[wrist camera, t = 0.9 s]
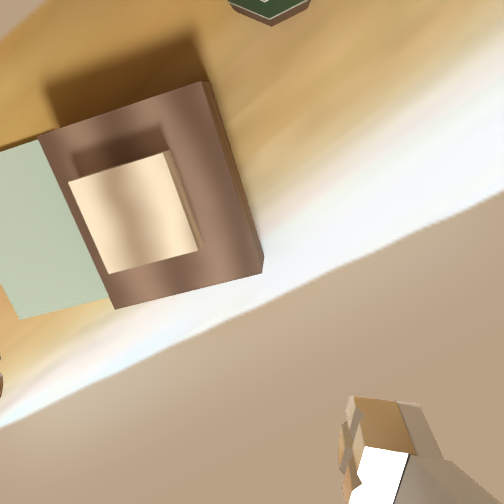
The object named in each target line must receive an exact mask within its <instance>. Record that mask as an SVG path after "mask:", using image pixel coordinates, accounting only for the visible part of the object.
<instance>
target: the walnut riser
mask: <svg viewBox="0 0 504 504" xmlns="http://www.w3.org/2000/svg"><path fill="white" fill-rule="evenodd" d="M37 138H38V140H39V143H40V145H41V147H42V149H43V152H44V154H45V156H46V158H47V160H48V163H49V165H50V167H51V169H52V171H53V174H54V176H55V178H56V180H57V183H58V185H59V187H60V189H61V191H62V194H63V196H64V198H65V200H66V202H67V205H68V207H69V209H70V211H71V214H72V216H73V218H74V220H75V222H76V225H77V227H78V229H79V231H80V233H81V236H82V238H83V240H84V242H85V244H86V247H87V249H88V251H89V253H90V256H91V258H92V260H93V262H94V264H95V267H96V269H97V271H98V273H99V275H100V278H101V280H102V282H103V284H104V287H105V289H106V291H107V293H108V295H109V298H110V300H111V302H112V304H113V306H114V309H119V308H123V307H127V306H131V305H135V304H139V303H144V302H148V301H152V300H156V299H160V298H164V297H168V296H172V295H176V294H180V293H184V292H188V291H192V290H196V289H200V288H204V287H208V286H212V285H216V284H220V283H224V282H228V281H233V280H237V279H241V278H245V277H249V276H253V275H257V274H261V273H262V269H263V262H264V254H263V251H262V248H261V244H260V241H259V238H258V235H257V232H256V228H255V225H254V222H253V219H252V215H251V212H250V209H249V206H248V203H247V199H246V196H245V193H244V190H243V187H242V183H241V180H240V177H239V174H238V170H237V167H236V164H235V161H234V158H233V154H232V151H231V148H230V145H229V142H228V138H227V135H226V132H225V129H224V125H223V122H222V119H221V116H220V113H219V109H218V106H217V103H216V100H215V97H214V93H213V90H212V87H211V84H210V82H206V81H199V82H196V83H193V84H190V85H187V86H184V87H181V88H178V89H175V90H172V91H169V92H166V93H163V94H160V95H157V96H154V97H151V98H148V99H145V100H142V101H139V102H136V103H133V104H131V105H128V106H125V107H122V108H119V109H116V110H113V111H110V112H107V113H104V114H101V115H98V116H95V117H92V118H89V119H86V120H83V121H80V122H77V123H74V124H71V125H68V126H65V127H62V128H59V129H56V130H53V131H50V132H47V133H44V134H42V135H39V136H37ZM169 149H170V151H171V154H172V157H173V160H174V162H175V165H176V168H177V171H178V174H179V177H180V179H181V182H182V185H183V188H184V191H185V193H186V196H187V199H188V202H189V205H190V207H191V210H192V213H193V216H194V219H195V221H196V224H197V227H198V230H199V233H200V235H201V238H202V241H203V243H202V245H201V247H200V248H199V250H198V251H195V252H191V253H187V254H183V255H179V256H176V257H172V258H168V259H164V260H160V261H157V262H153V263H149V264H145V265H142V266H138V267H134V268H130V269H126V270H123V271H119V272H115V273H111V274H108V272H107V269H106V267H105V265H104V263H103V260H102V258H101V256H100V254H99V251H98V249H97V247H96V245H95V242H94V240H93V238H92V235H91V233H90V231H89V229H88V226H87V224H86V222H85V220H84V217H83V215H82V213H81V211H80V208H79V206H78V204H77V202H76V199H75V197H74V195H73V193H72V190H71V188H70V186H69V184H68V182H70V181H72V180H75V179H77V178H80V177H83V176H86V175H89V174H92V173H96V172H99V171H102V170H105V169H108V168H112V167H115V166H118V165H121V164H124V163H128V162H131V161H134V160H137V159H141V158H144V157H147V156H150V155H153V154H157V153H160V152H163V151H166V150H169Z"/></svg>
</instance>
